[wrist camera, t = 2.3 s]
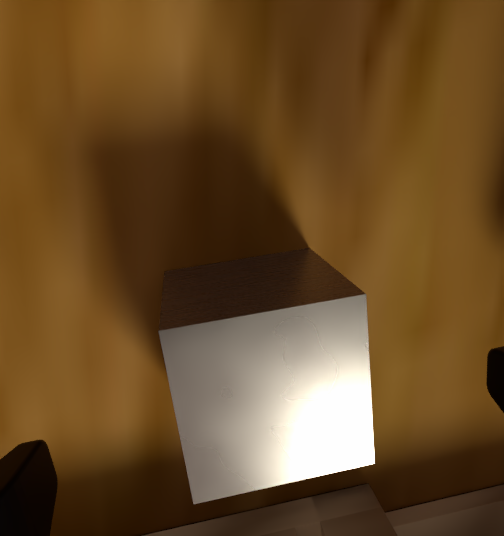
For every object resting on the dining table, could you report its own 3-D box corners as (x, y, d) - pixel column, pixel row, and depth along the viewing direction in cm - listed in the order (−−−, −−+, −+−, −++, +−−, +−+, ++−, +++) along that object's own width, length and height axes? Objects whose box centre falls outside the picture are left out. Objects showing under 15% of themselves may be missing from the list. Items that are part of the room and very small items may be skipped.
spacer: (308, 247, 12) (365, 293, 9) (319, 373, 14) (374, 463, 10) (164, 270, 12) (158, 330, 8) (189, 399, 13) (193, 504, 9)
